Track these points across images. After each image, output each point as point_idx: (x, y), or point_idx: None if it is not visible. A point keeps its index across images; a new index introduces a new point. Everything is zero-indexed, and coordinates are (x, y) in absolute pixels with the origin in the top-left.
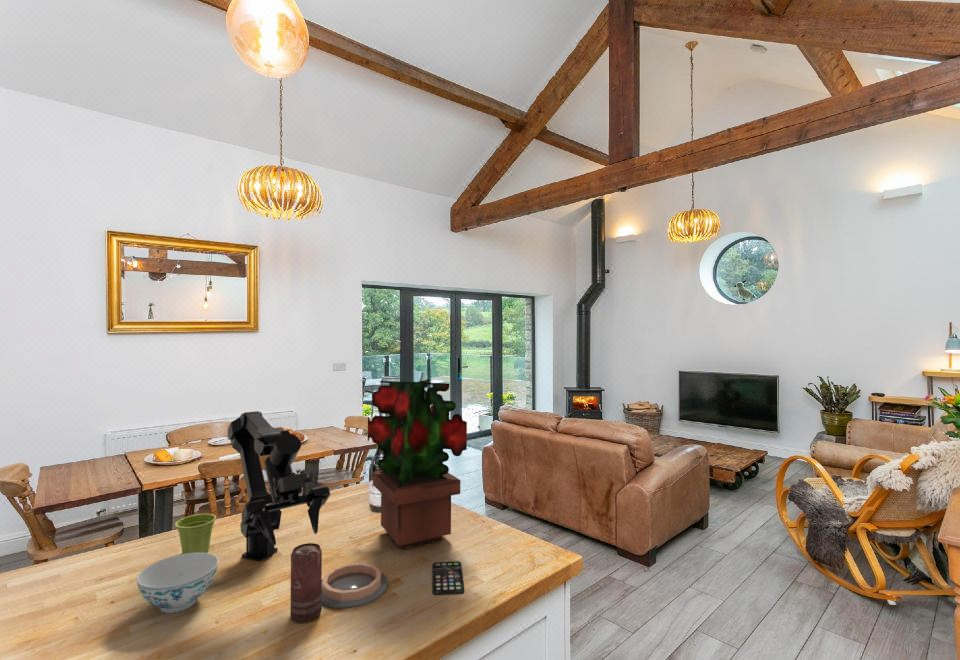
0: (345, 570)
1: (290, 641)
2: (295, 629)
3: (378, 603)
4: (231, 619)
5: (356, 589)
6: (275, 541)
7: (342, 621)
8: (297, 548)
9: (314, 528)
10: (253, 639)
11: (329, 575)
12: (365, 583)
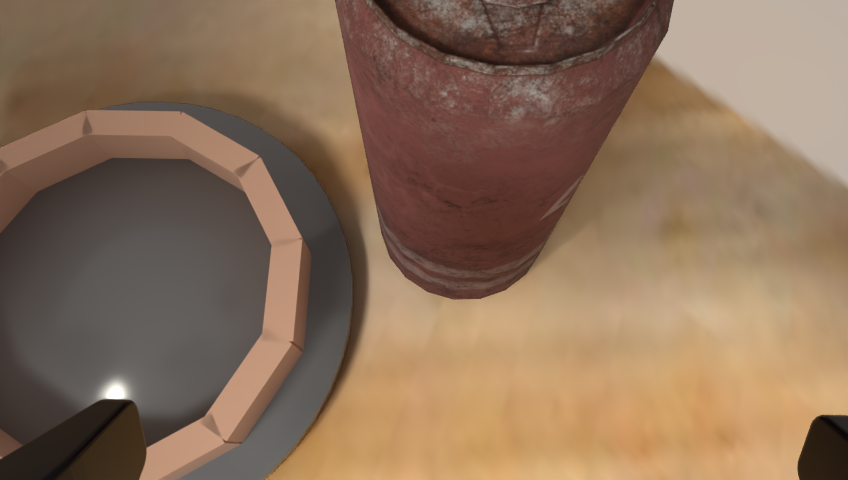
0: None
1: None
2: None
3: (134, 83)
4: None
5: (175, 134)
6: (842, 428)
7: (345, 67)
8: (581, 52)
9: (100, 471)
10: (736, 201)
11: (192, 424)
12: (59, 258)
